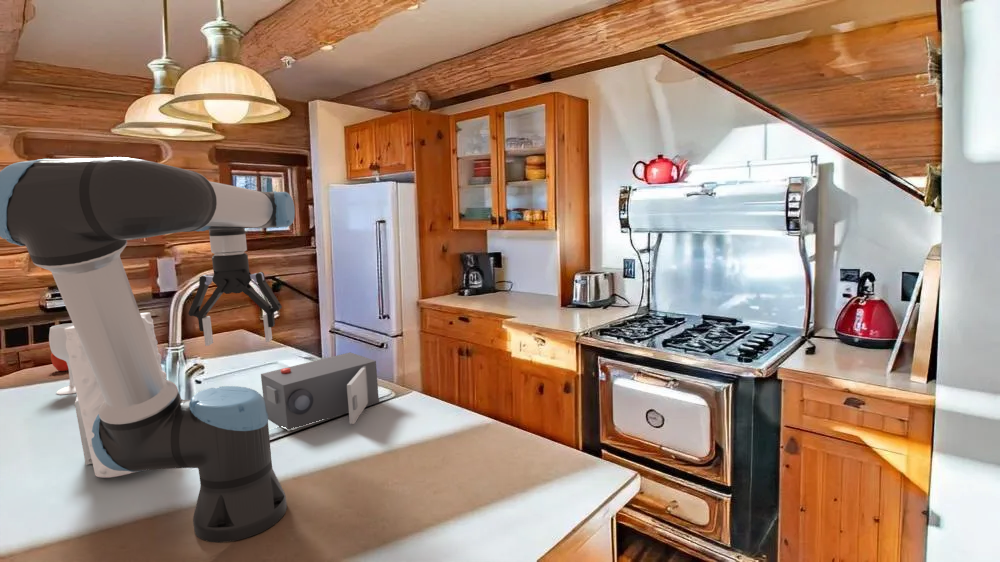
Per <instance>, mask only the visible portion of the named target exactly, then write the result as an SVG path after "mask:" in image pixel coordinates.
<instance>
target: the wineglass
mask: <svg viewBox="0 0 1000 562" xmlns="http://www.w3.org/2000/svg"><path fill="white" fill-rule="evenodd" d="M72 326H74V325H73V323H72V322H71V323H62V324H57V325H52V326H51V327H49V334H48V343H49V348H50V349H49V350H50V351H51V354H52V353H53V355H54V356H56V357H57V358H59V359H62V360H64V361H66V362H67V365H68V369H69V370H68V375H69V385H68V386H65V387H62V388H60V389H59V390H57V391H56V394H57V395H60V396H61V395H72V394H77V393H76V388H75V384H74V380H73V375H72V371H71V367H70V362H69V361H70V359H69V354H68V352H67V349H66V340H67V336H66V332H65V330H64V329H65V328H68V327H72Z"/></svg>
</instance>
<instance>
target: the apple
mask: <svg viewBox="0 0 1000 562" xmlns="http://www.w3.org/2000/svg"><path fill="white" fill-rule="evenodd" d="M50 361H51V363H52V366H53V367H54V368H55V369H56V371H59V372H65V371H67V372H68V371H69V369H68V365H67V362H66V361H64V360H62V359H59V358H57V357H56V356H54V355H53V353H52V352H51V354H50Z"/></svg>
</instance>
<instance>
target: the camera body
mask: <svg viewBox="0 0 1000 562" xmlns="http://www.w3.org/2000/svg"><path fill="white" fill-rule="evenodd" d="M363 366H366V373H367V386H368V399H369V402H368V404H367V405H366V407H369V406H372V405H376V404H378V403H380V401H379V388H378V385H379V384H378V374H377V360H374V359H371V358H368V357H365V356H362V355H359V354H356V353H353V352H351V351H350V352H346V353H343V354H338V355H333V356H330V357H325V358H321V359H318V360H317V359H316V360H313V361H308V362H306V363H305V362H304V363H300V364H295V365H292V366H288V367H284V368H280V369H276V370H271V371H267V372H262V373H260V377H261V378H260V379H261V381H260V382H261V386H262V388H261V389H262V397H263V398H264V401H265V406H266V411H267V414H268V421H270V422H272V423H273V424H274V425H276V426H278V427H280V428H281V426H283V427H286V428H287V429H291V428H293V427H294V428H295V427H299V426H303V425H306V424H309V423H312V422H316V421H319V420H322V419H327V418H330V419H332V418H335V417H339V416H341V415H345V414H349V407H348V395H347V384H348V383H349V382H350V381H351V380H352V378H353V377H354V376H355V375H356V374H357V372H358V371H359V370H360V369H361V368H362V367H363ZM366 407H365V408H366ZM327 420H328V419H327Z"/></svg>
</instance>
